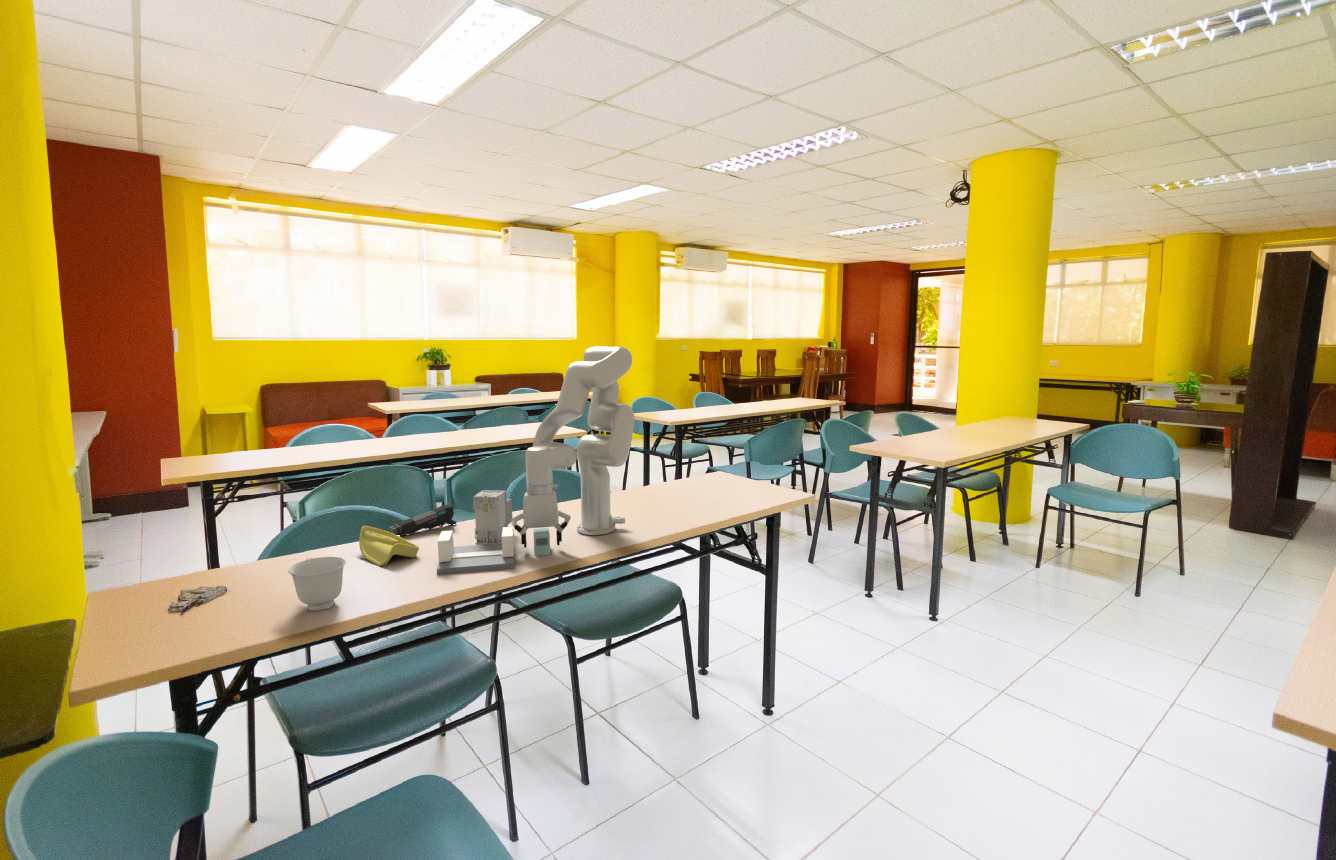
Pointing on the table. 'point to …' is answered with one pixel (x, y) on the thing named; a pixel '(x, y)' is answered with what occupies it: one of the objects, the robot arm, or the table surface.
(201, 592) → the circuit board
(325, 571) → the teacup
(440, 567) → the rail board
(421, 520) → the gun
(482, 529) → the circuit breaker
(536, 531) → the block
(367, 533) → the plastic component
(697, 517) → the table surface
